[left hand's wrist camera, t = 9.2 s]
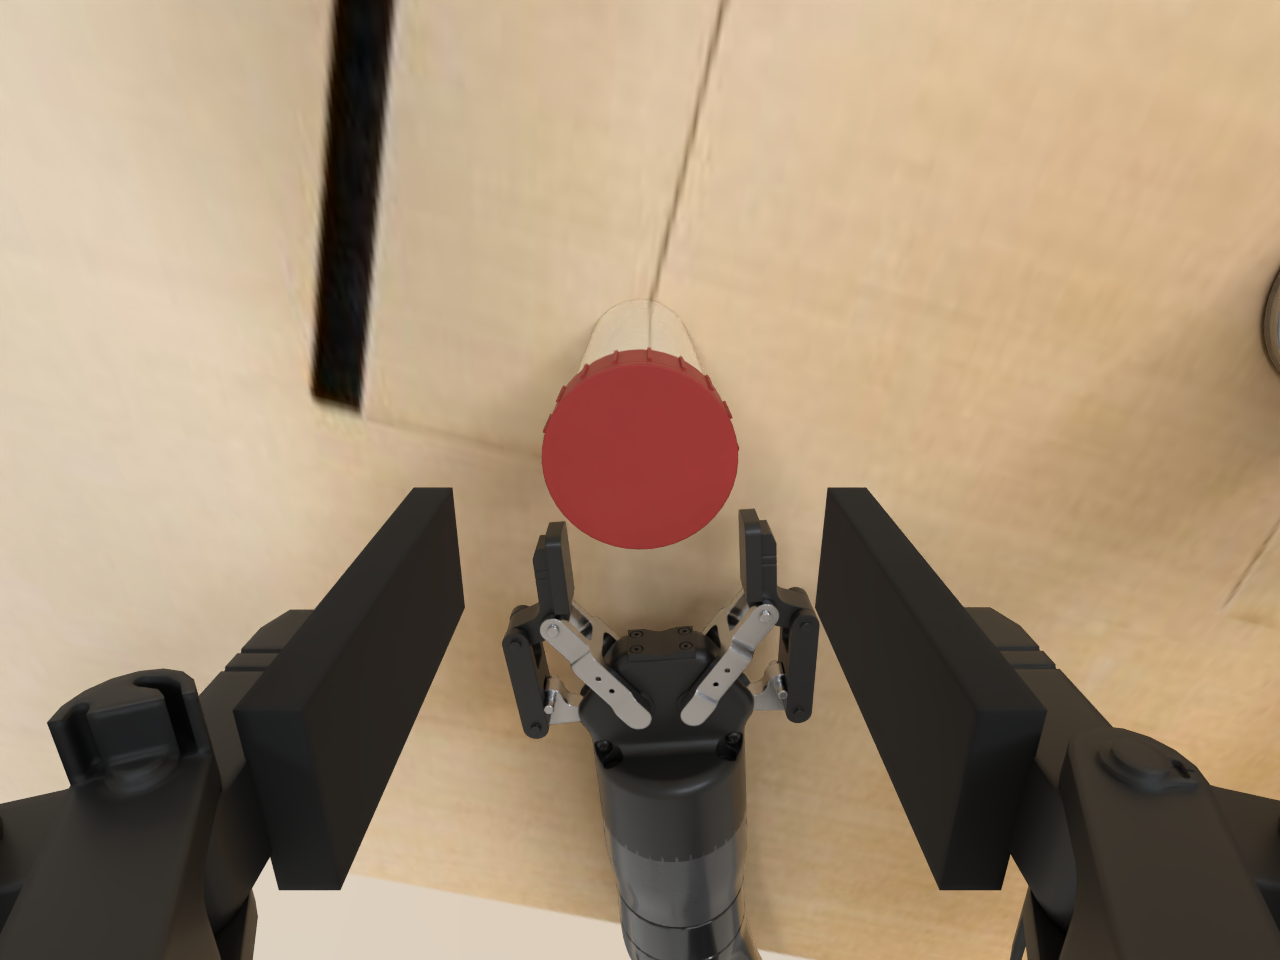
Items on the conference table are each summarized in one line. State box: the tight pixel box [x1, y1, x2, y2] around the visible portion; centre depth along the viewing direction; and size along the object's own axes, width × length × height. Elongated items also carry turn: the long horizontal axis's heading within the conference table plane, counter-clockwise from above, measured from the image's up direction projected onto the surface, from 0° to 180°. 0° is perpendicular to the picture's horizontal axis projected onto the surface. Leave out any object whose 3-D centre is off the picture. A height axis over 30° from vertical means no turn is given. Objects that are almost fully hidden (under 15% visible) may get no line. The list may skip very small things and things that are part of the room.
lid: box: [542, 347, 739, 549], centre depth 20 cm, size 6×6×2 cm
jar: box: [576, 300, 704, 375], centre depth 27 cm, size 5×5×16 cm
